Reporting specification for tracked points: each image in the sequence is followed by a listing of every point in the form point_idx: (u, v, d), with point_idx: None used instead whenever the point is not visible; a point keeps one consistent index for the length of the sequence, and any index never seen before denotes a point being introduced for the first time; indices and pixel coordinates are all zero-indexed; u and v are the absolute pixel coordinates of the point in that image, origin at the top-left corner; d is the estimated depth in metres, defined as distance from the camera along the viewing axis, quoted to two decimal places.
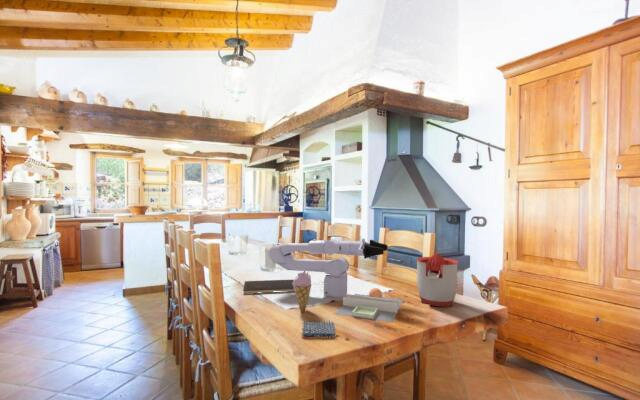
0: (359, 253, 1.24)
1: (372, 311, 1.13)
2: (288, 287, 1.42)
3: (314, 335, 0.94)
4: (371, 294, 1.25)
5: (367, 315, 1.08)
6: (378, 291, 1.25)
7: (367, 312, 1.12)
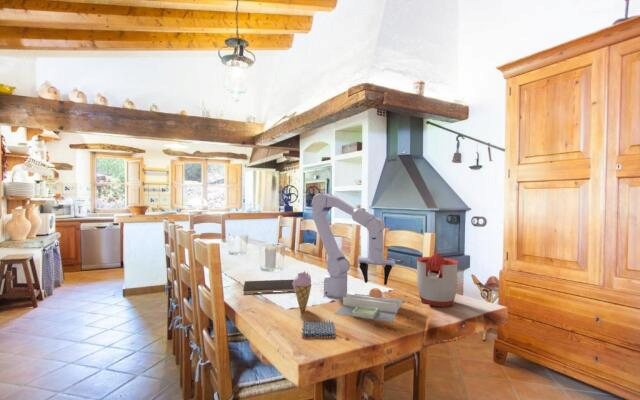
0: None
1: (372, 311, 1.13)
2: (288, 287, 1.42)
3: (314, 335, 0.94)
4: (371, 294, 1.25)
5: (367, 315, 1.08)
6: (378, 291, 1.25)
7: (367, 312, 1.12)
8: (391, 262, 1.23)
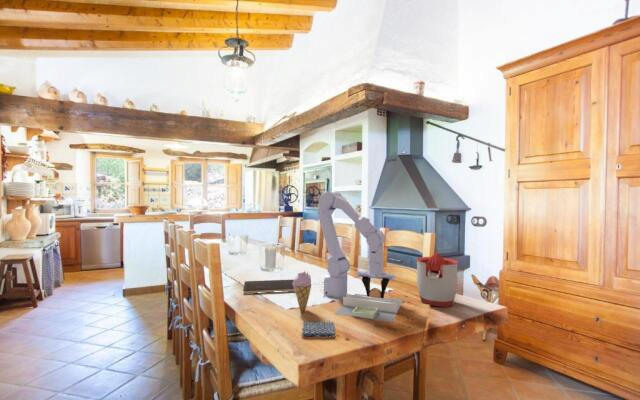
0: None
1: (372, 311, 1.13)
2: (288, 287, 1.42)
3: (314, 335, 0.94)
4: (371, 294, 1.25)
5: (367, 315, 1.08)
6: (378, 291, 1.25)
7: (367, 312, 1.12)
8: (391, 276, 1.23)
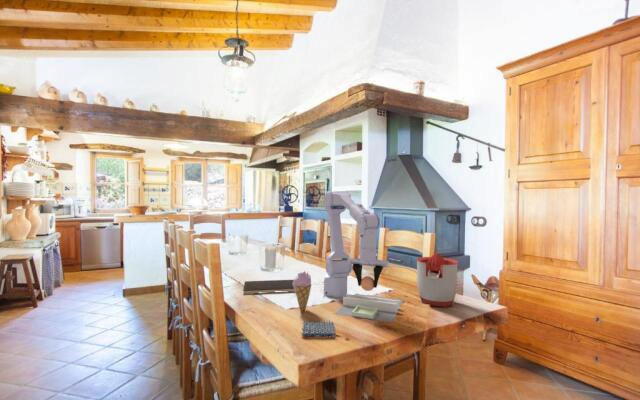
0: None
1: (372, 311, 1.13)
2: (288, 287, 1.42)
3: (314, 335, 0.94)
4: (363, 283, 1.13)
5: (367, 315, 1.08)
6: (370, 280, 1.13)
7: (367, 312, 1.12)
8: (384, 263, 1.11)
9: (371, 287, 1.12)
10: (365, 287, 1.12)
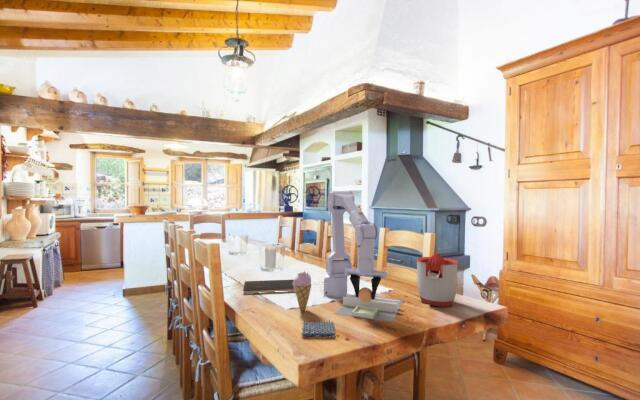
0: None
1: (372, 311, 1.13)
2: (288, 287, 1.42)
3: (314, 335, 0.94)
4: (360, 294, 1.10)
5: (367, 315, 1.08)
6: (368, 291, 1.10)
7: (367, 312, 1.12)
8: (383, 274, 1.09)
9: (369, 299, 1.10)
10: (363, 299, 1.10)
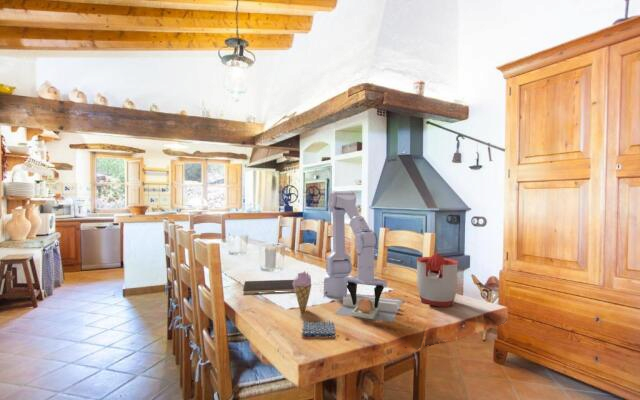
0: None
1: (372, 311, 1.13)
2: (288, 287, 1.42)
3: (314, 335, 0.94)
4: (360, 305, 1.10)
5: (367, 315, 1.08)
6: (368, 302, 1.10)
7: None
8: (382, 282, 1.09)
9: (369, 310, 1.10)
10: (362, 310, 1.10)
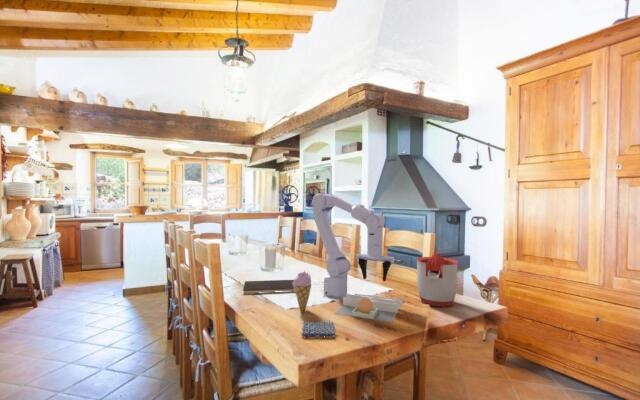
0: None
1: (372, 311, 1.13)
2: (288, 287, 1.42)
3: (314, 335, 0.94)
4: (360, 305, 1.10)
5: (367, 315, 1.08)
6: (368, 302, 1.10)
7: None
8: (390, 258, 1.22)
9: (369, 310, 1.10)
10: (362, 310, 1.10)
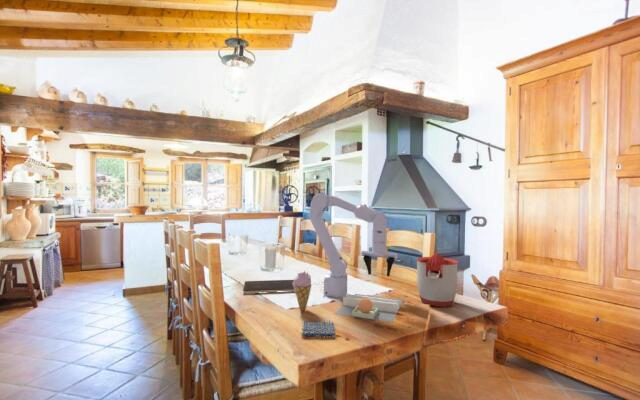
0: None
1: (372, 311, 1.13)
2: (288, 287, 1.42)
3: (314, 335, 0.94)
4: (360, 305, 1.10)
5: (367, 315, 1.08)
6: (368, 302, 1.10)
7: None
8: (394, 254, 1.29)
9: (369, 310, 1.10)
10: (362, 310, 1.10)
